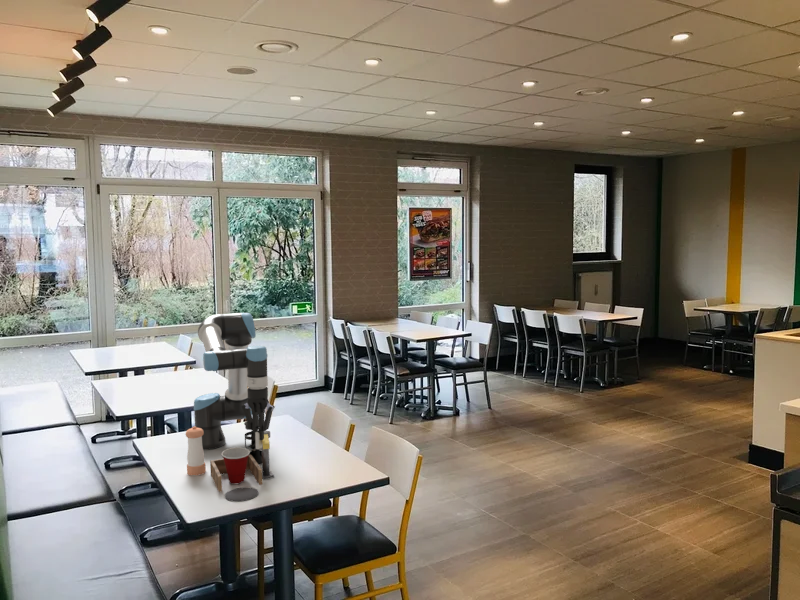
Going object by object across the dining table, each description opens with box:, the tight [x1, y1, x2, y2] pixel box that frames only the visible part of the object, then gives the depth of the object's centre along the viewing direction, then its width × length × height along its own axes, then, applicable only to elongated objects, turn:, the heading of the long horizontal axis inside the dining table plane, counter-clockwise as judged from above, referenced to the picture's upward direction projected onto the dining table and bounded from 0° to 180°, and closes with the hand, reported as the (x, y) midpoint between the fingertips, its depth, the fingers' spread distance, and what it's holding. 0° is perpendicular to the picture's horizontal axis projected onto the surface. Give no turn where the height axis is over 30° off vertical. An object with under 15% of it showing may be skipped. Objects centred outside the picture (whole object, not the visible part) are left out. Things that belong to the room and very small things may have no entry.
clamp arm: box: [262, 430, 271, 450], centre depth 250 cm, size 4×18×2 cm, turn 14°
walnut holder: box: [209, 454, 263, 493], centre depth 255 cm, size 20×16×6 cm
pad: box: [224, 486, 259, 502], centre depth 240 cm, size 12×12×1 cm
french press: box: [243, 409, 265, 465], centre depth 277 cm, size 12×9×23 cm
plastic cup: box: [221, 447, 250, 485], centre depth 253 cm, size 11×11×12 cm
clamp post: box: [261, 444, 275, 480], centre depth 258 cm, size 5×5×16 cm
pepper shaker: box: [185, 425, 207, 476], centre depth 264 cm, size 7×7×19 cm
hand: (259, 448), depth 247 cm, fingers closed
